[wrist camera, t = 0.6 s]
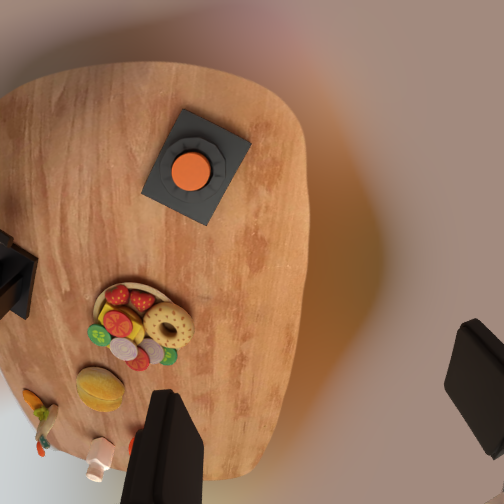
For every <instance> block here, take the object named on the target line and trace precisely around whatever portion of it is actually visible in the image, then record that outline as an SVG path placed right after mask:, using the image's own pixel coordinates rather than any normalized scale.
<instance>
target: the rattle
mask: <svg viewBox="0 0 504 504" xmlns="http://www.w3.org/2000/svg"><path fill="white" fill-rule="evenodd" d="M23 397H24V400H25V401H26V402H27V403H28V404H29V406H30V407H31V408H32V410H34V415H35V416H37V417H39V420H40V423H39V425H38V428H37V433H36V441H38V442H37V450H38V454H39V455H40V456H42V457H44V456H45V451H44V450H43V448H45V449H48V448H50V443H49V442H48V441H47V439H46V436H47V434H48V433H49V431H50V430H51V428H52V426H53V424H54V422H55V420H56V417H57V414H58V407H57V406H56V405H55V404H52V405H51V406H50V407H49V408H47V409H46V407H45V406H44V405H43V403H42V402H41V400H40V399H39V398H38V397H37V396H36V395H35V394H34V393H32V392H30V391H28V390H24V391H23ZM42 447H43V448H42Z"/></svg>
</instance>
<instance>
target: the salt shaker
mask: <svg viewBox="0 0 504 504" xmlns="http://www.w3.org/2000/svg"><path fill="white" fill-rule="evenodd" d="M114 450H115V446H114V445H113V444H111V443H110V442H109V441H107V440H106V439H105V438H103V437H101V438H97V439H94V440H92V443H91V446H90V449H89V452H88V455H87V458H86V462H87V463H88V464H89V468H88V470H87V473H86V476H87V477H88V478H89V479H91V480H93V481H96V482H101V481H102V478H103V471H104V470H107V469H109V468H110V466H111V462H112V458H113V454H114Z"/></svg>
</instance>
